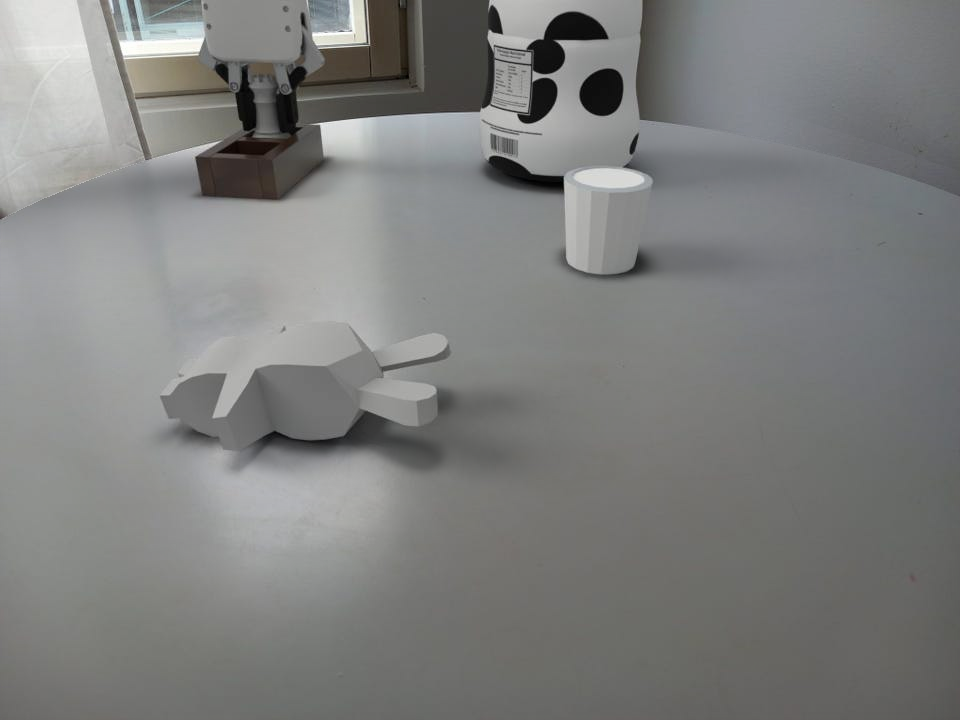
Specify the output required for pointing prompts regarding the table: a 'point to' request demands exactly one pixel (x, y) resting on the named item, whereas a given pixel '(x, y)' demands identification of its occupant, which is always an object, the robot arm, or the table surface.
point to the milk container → (560, 86)
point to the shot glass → (604, 217)
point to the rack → (259, 163)
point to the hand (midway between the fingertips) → (270, 127)
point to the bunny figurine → (300, 384)
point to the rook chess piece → (266, 107)
